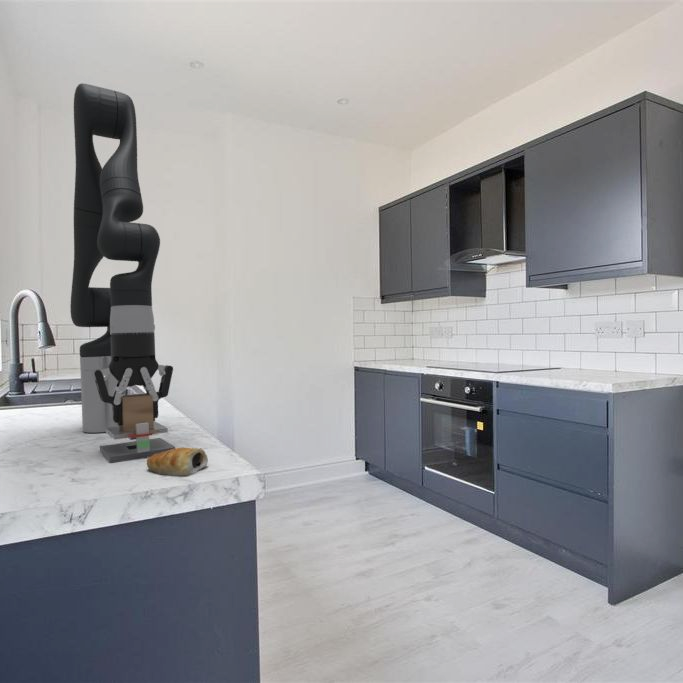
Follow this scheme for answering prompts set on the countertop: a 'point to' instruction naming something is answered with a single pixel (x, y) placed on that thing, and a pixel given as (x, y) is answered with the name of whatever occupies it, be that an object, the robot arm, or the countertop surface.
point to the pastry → (178, 461)
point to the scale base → (135, 447)
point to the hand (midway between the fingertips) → (136, 422)
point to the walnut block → (136, 411)
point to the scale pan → (134, 432)
